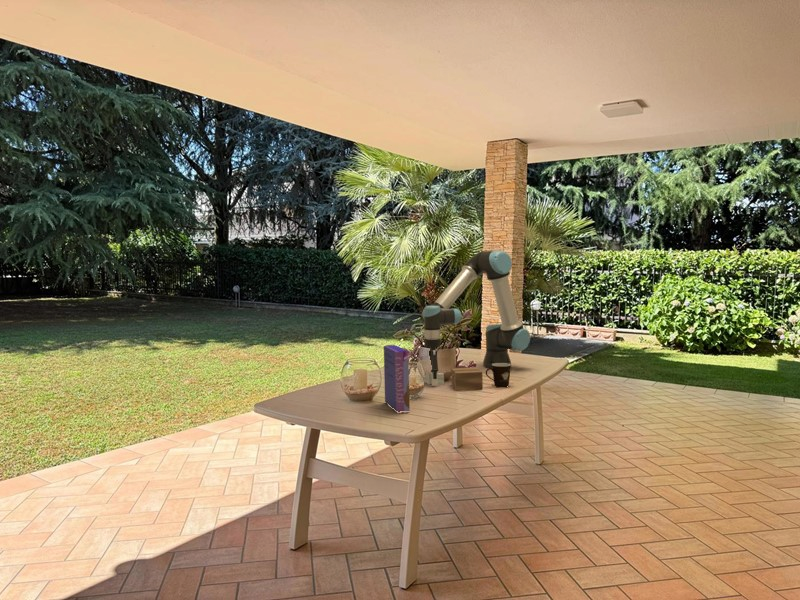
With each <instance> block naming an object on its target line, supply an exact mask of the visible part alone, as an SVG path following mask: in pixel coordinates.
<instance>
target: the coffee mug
mask: <svg viewBox="0 0 800 600" xmlns="http://www.w3.org/2000/svg"><path fill="white" fill-rule="evenodd" d="M511 367H512V363H511V364H507V363H494V364H492V368H487V369H486V371H485V375H486V376H487V377H488V378H489V379H490V380H491V381H493V384H494V387H495V386H496V387H495V388H498V387H506V388H508V387H507V386H510V376H511ZM490 370H491V372H492V375H493V377H491V376H490V375H488V372H489V371H490Z"/></svg>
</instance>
